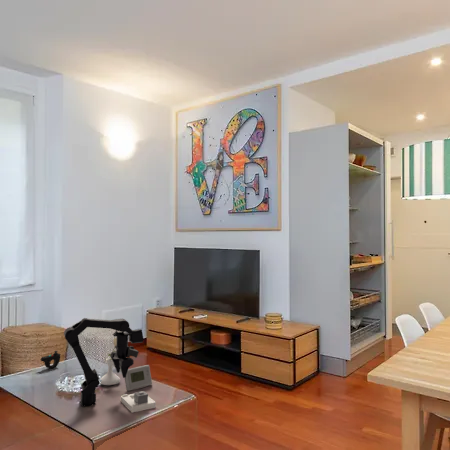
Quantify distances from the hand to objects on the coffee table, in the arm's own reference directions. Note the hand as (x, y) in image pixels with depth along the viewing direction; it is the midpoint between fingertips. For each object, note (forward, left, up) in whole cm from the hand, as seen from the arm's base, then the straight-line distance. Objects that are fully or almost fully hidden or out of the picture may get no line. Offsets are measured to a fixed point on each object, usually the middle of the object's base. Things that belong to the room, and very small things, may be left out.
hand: (121, 375), depth 213 cm
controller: (-21, +69, -12) cm, 74 cm away
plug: (+5, -15, -12) cm, 20 cm away
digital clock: (+14, +12, -12) cm, 22 cm away
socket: (+5, -11, -12) cm, 17 cm away
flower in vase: (+3, +25, -12) cm, 28 cm away
